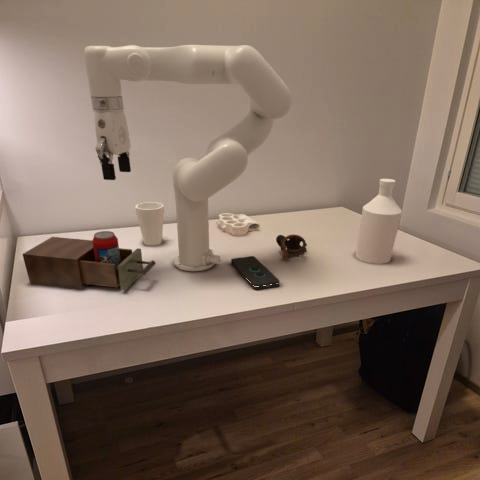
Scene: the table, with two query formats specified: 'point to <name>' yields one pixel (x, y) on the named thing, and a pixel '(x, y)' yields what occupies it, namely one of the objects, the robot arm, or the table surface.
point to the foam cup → (151, 222)
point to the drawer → (114, 269)
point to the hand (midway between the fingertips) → (117, 175)
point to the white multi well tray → (237, 223)
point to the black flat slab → (254, 272)
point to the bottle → (379, 226)
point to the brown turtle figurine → (291, 246)
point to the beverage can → (106, 248)
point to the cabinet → (57, 262)
